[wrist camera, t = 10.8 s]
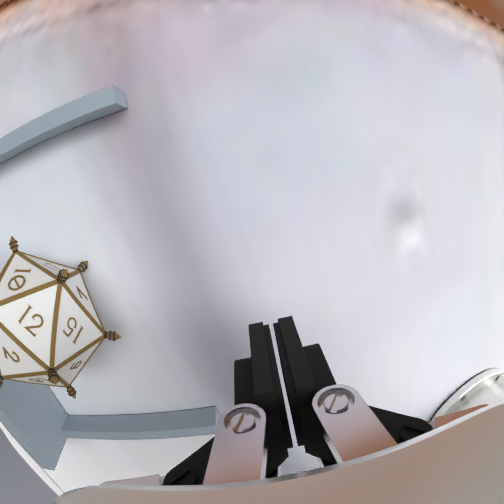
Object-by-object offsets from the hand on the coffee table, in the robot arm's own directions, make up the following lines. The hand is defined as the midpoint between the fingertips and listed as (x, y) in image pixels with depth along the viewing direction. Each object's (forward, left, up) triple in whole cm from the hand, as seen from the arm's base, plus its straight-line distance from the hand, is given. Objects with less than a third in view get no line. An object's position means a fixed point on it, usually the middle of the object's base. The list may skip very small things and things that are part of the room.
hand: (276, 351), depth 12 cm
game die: (+12, -2, -7) cm, 14 cm away
